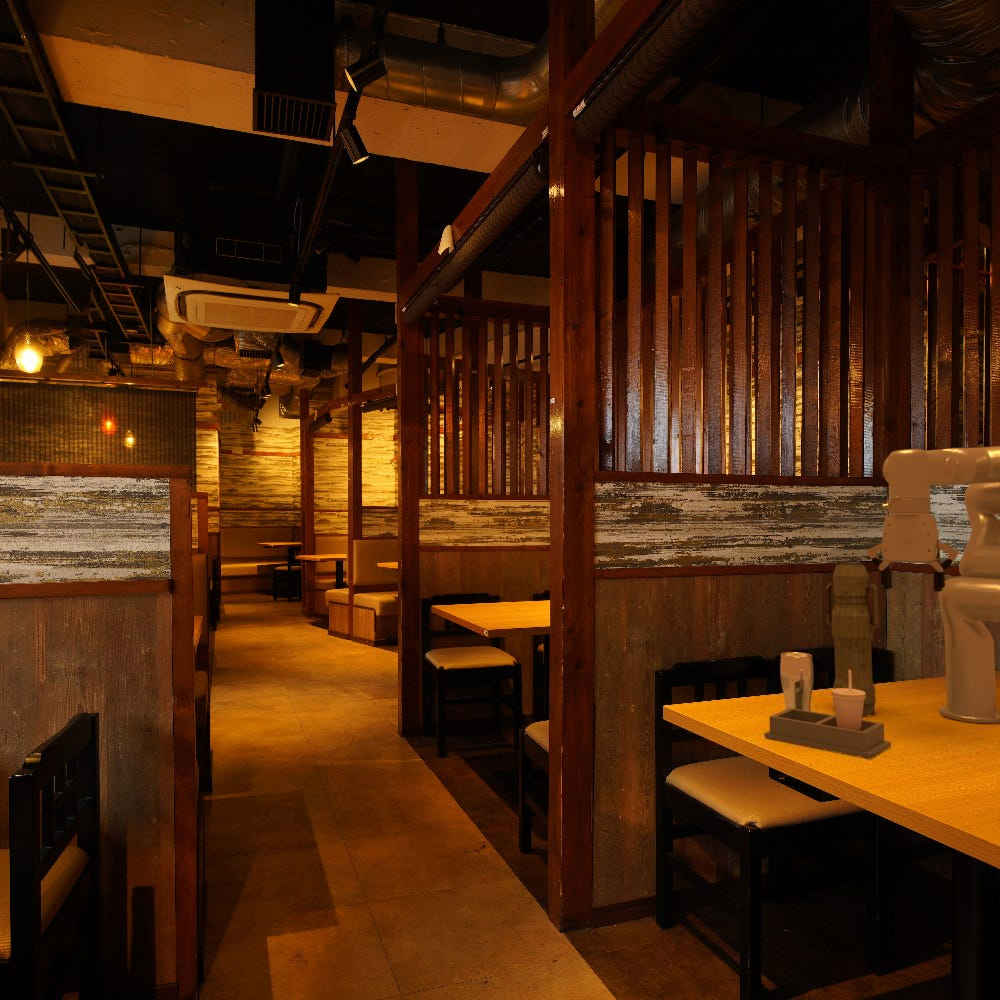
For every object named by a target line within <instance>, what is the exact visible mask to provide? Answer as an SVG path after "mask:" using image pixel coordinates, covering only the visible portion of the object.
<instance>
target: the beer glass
mask: <svg viewBox="0 0 1000 1000" xmlns="http://www.w3.org/2000/svg"><path fill="white" fill-rule="evenodd" d="M779 669H780V674H779V675H780V680H781V683H780V684H781V689H782V692H783V698H784V710H787V709H789V708H794V709H800V710H806V711H812V710H811V702H812V694H813V687H814V675H815V673H814V663H813V655H812V654H810V653H807V652H797V651H790V652H789V651H788V652H787V651H786V652H782V653H780V667H779Z"/></svg>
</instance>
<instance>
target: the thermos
mask: <svg viewBox="0 0 1000 1000" xmlns="http://www.w3.org/2000/svg"><path fill="white" fill-rule="evenodd" d="M832 576H833V577H832V582H828V583H827V584H826V585H825V587H824V588H823V592H824V593H823V594H824V595H823V596H824V608H825V623H826V624H827V625H828V626H830V628H831V636H832V638H833V640H834V641H833V643H834V644H833V645H834V670H835V671H834V673H835V679H834V683H833V686H832V689H836V688H848V689H849V673H848V670H851V671H852V689H856V690H861V691H863V692H865V694H866V698H865V699H864V705H863V714H862V716H868V715H873V714H875V715H876V707H875V706H876V701H877V700H876V687H875V683H874V681H873V661H872V660H873V659H872V655H873V654H872V641H873V639H874V630H877V629H879V628H880V604H879V603H880V601H879V599H880V598H879V588H878V587H877V585H876V584H875V583H871V582H870V581H869V573H868V571H867V569H866V567H865V564H862V563H861V562H839V564H836V565H835V568H834V571H833V575H832ZM832 587H833V597H834V601H833V608H832V600H831V599H832V596H831V595H832V594H831V593H832V591H831V589H832ZM870 588H871V589H872V590H873V612H874V613H872V611H871V608H870V602H869V597H870ZM873 619H874V620H873ZM873 716H874V715H873ZM868 717H869V716H868Z"/></svg>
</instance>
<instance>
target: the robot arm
mask: <svg viewBox="0 0 1000 1000" xmlns="http://www.w3.org/2000/svg"><path fill="white" fill-rule="evenodd" d="M882 475H883V477H884V479H885V481H886V483H888V492H889V500H888V502H887V503H883V504H882V510H883V511H888V513H889V515H885V517H884V523H883V530H882V542H881V543H878V544H876V545H874V546H872V547H871V548H868V549H867V550H866V553H867V555H868V556H869V558H870V559H871V562H872V564H874V565H875V567H877V568H878V570H879V571H880V579H881V580H880V581H881V583H880V584H881V585H882V586H883V589H884V590H891V589H893V575H892V572H893V571H892V570H891V569H890V568H891V566H892V565H893V564H894V563H911V564H912V563H913V564H914V563H915V564H916V563H917V564H918V563H920V564H921V563H922V564H923V563H924V564H926V563H929V565H931V566H932V567H933V569H934V570H935V571H934V572H933V591H934V592H936V593H937V595H938V604H939V607H940V611H941V616H942V622H943V629H944V630H943V631H944V653H945V659H944V660H945V680H946V681H945V682H946V683H945V684H946V685H945V686H946V688H945V689H946V705H942V706H941V707H939V714H940V716H943V717H945V718H948V719H952V720H955V721H961V722H968V723H975V724H977V723H978V724H996V723H997V724H998V723H1000V710H997V692H996V691H997V690H996V667H995V666H996V665H995V642H994V638H993V636H992V634H991V632H990V630H989V629H988V628H987V626H986V625H985V624H984V622H993V623H994V622H997V623H1000V518H998V516H997V515H1000V445H998V446H997V445H996V446H985V447H983V446H982V447H951V448H944V449H943V448H942V449H931V450H924V449H918V448H909V449H900V450H899V449H898V450H894V451H891V452H890V453H889V455H888V457H886V458H885V461H884V462H883V466H882ZM963 485H968V487H966V489H965V492H964V503H965V508H966V512H967V513H966V514H967V516H968V521H969V523H970V527H971V534H970V536H969V539H968V540H967V541H968V542H967V544H966V546H965V549H964V550H963V554H962V556H961V558H960V560H959V567H958V571H959V574H960V575H961V576H960V577H959V576H958V577H952V578H948V579H946V580H945V578H946V576H945V572H947V571H948V569H949V568H950V567H951V566H952V565H954V563H955V561H956V559H957V557H958V555H959V553H960V551H959V550H958V549H956V548H954V547H951V546H949V545H947V544H945V543H943V542H941V541H940V537H939V536H940V535H939V531H938V526H937V521H936V517H935V514H931V510H932V509H931V487H930V486H941V487H942V486H943V487H949V486H963ZM941 551H942V552H944V553H946V554H947V555H948V556H947V558H946V559H945V560H944V561H943V562H942V561H941V560H940V559H941ZM878 552H881V555H882V559H883V560H882V559H881V558H880V557H879V556H878Z"/></svg>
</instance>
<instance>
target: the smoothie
mask: <svg viewBox="0 0 1000 1000" xmlns="http://www.w3.org/2000/svg"><path fill="white" fill-rule="evenodd" d="M848 673H849V689H848V688H836V689H833V688H832V689H831V690H830V696H831V697H832V702H833V708H834V715H836V722H837V727H839V728H844V729H850V730H856V731H861V723H862V720H863V717H862V714H863V705H864V699H865V698H866V694H865V692H863V691H861V690H856V689H852V671H851V670H848Z"/></svg>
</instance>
